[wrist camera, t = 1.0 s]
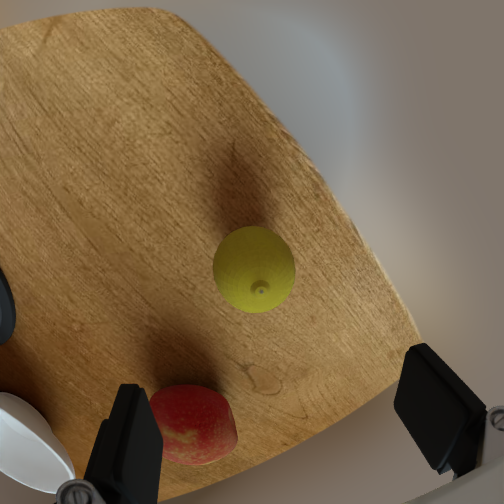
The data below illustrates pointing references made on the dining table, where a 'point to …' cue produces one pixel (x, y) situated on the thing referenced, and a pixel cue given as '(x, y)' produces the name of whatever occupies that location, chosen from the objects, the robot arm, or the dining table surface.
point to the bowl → (31, 447)
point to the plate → (6, 310)
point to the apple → (194, 424)
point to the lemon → (254, 269)
